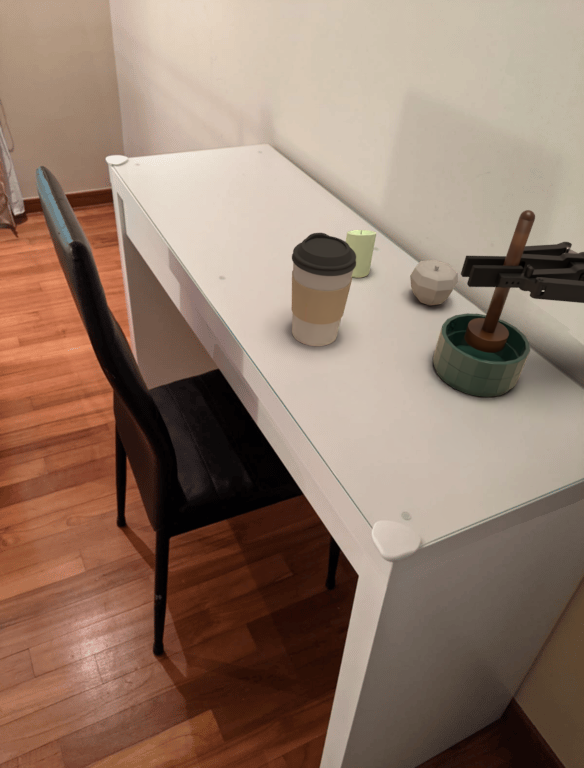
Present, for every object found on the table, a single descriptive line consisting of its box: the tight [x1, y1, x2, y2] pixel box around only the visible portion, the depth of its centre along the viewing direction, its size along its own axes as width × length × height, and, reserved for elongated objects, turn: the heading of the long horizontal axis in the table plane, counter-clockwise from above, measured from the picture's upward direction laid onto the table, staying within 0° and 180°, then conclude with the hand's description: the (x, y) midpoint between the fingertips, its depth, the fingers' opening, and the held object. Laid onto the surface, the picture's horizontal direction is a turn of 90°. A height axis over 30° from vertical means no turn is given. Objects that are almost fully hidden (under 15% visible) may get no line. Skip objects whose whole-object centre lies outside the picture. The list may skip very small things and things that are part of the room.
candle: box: [345, 229, 377, 279], centre depth 107 cm, size 5×5×8 cm
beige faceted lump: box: [409, 259, 459, 306], centre depth 102 cm, size 8×8×7 cm
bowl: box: [432, 312, 531, 398], centre depth 87 cm, size 12×12×6 cm
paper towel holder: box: [464, 209, 536, 353], centre depth 80 cm, size 6×6×19 cm
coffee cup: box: [291, 232, 356, 347], centre depth 88 cm, size 9×9×15 cm
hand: (467, 271), depth 78 cm, fingers closed on paper towel holder, 2 cm apart
